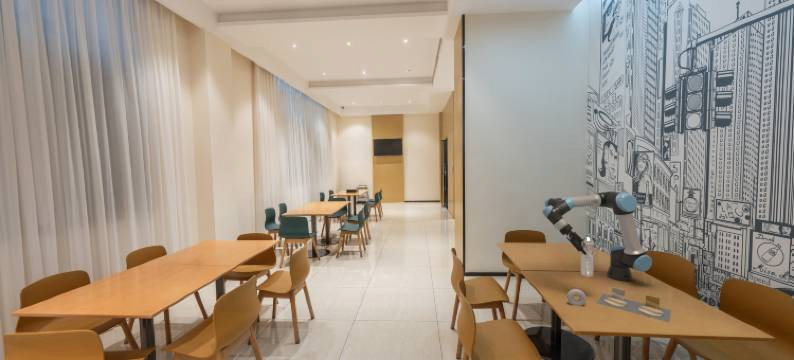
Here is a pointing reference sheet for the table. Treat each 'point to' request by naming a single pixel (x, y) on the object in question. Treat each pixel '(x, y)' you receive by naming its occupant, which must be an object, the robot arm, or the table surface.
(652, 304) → the ochre tag coaster
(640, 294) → the table surface
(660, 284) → the table surface
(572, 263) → the table surface
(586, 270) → the water bottle
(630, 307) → the board
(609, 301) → the white tag coaster
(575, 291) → the donut
